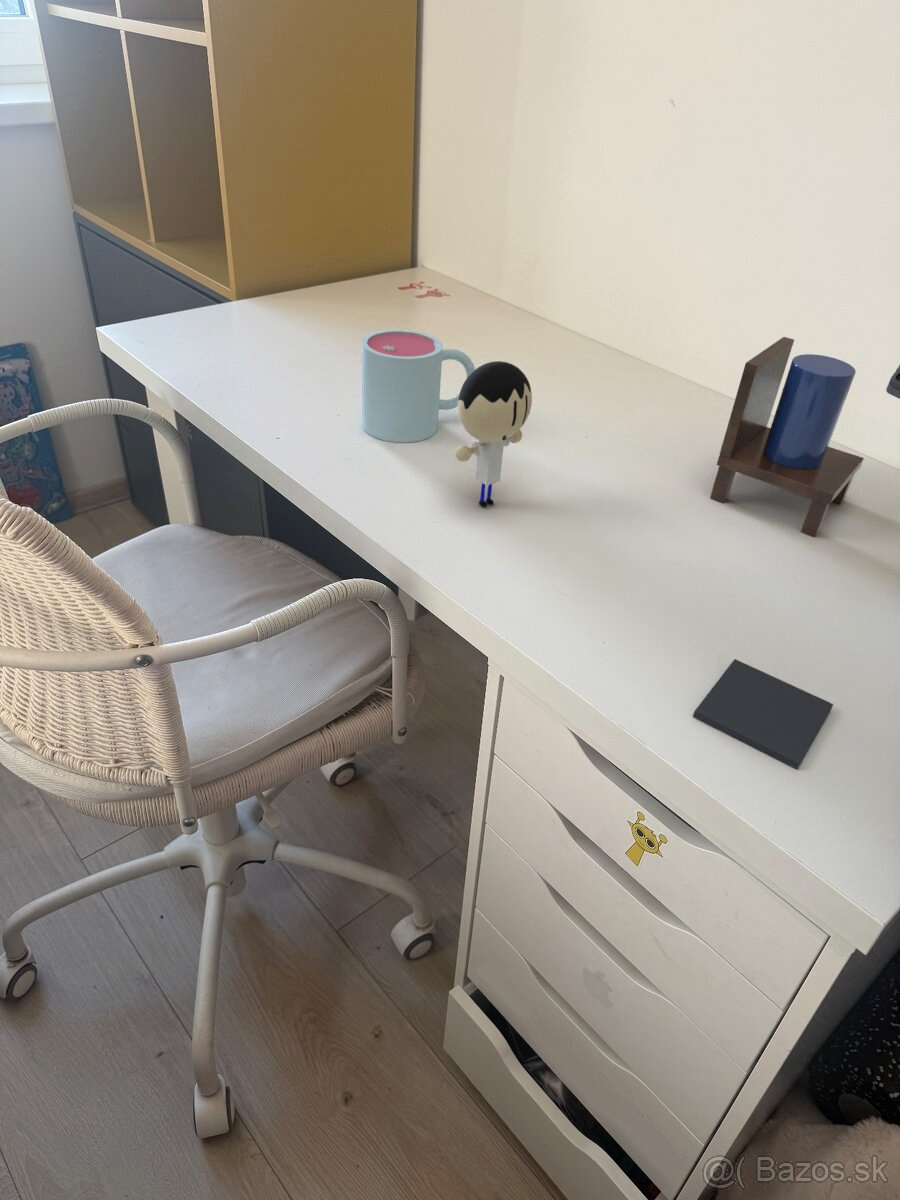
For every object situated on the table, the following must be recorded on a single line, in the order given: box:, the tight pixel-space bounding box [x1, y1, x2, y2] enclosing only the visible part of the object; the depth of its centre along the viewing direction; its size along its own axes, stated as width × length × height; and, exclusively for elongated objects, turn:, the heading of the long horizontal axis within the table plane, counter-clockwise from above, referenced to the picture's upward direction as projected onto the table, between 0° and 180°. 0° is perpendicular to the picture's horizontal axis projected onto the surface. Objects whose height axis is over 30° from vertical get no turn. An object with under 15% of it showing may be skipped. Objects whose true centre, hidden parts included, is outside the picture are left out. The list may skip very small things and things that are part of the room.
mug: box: [361, 329, 476, 444], centre depth 97 cm, size 14×9×10 cm
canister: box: [764, 353, 857, 469], centre depth 85 cm, size 6×6×10 cm
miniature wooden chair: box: [709, 336, 865, 538], centre depth 86 cm, size 12×11×15 cm
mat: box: [692, 658, 834, 770], centre depth 63 cm, size 8×8×1 cm
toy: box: [455, 360, 533, 508], centre depth 81 cm, size 9×7×15 cm
